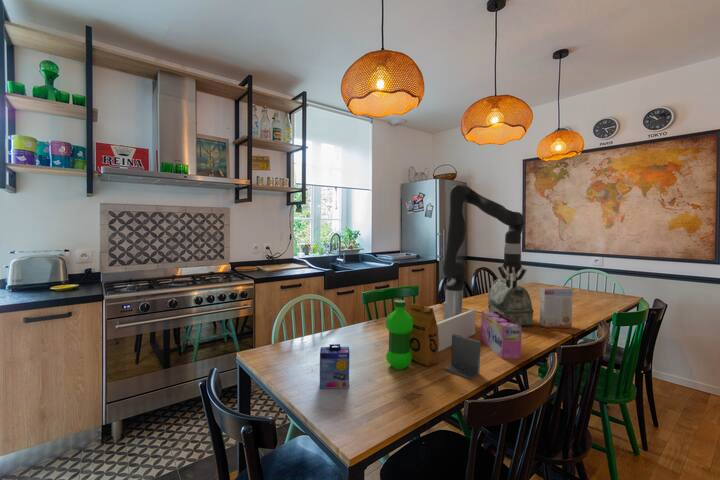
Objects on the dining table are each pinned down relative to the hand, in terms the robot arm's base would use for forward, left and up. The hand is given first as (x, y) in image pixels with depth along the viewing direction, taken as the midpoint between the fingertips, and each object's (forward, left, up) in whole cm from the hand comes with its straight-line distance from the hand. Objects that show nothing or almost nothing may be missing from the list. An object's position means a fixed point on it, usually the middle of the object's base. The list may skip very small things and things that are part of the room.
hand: (511, 287), depth 163 cm
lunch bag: (-10, +24, -23) cm, 35 cm away
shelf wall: (-13, -32, -23) cm, 42 cm away
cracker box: (+12, +30, -23) cm, 40 cm away
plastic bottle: (-15, -69, -23) cm, 74 cm away
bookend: (+4, -56, -23) cm, 61 cm away
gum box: (+4, -23, -23) cm, 33 cm away
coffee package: (-12, -58, -23) cm, 64 cm away
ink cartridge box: (-21, -96, -23) cm, 101 cm away
